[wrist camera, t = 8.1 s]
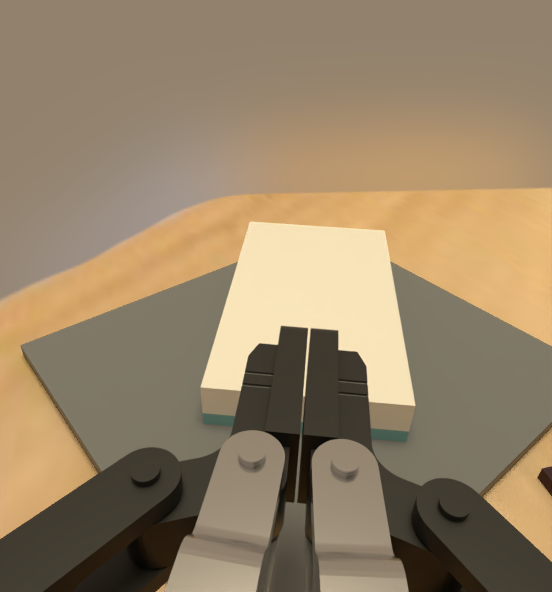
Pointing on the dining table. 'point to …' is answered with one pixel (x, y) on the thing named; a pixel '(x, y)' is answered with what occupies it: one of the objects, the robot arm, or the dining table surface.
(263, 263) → the tile
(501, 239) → the dining table surface
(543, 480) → the chocolate bar
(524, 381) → the mat
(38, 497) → the dining table surface
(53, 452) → the dining table surface
